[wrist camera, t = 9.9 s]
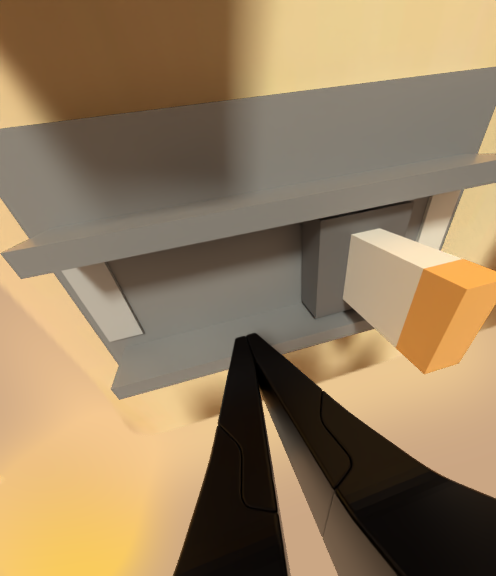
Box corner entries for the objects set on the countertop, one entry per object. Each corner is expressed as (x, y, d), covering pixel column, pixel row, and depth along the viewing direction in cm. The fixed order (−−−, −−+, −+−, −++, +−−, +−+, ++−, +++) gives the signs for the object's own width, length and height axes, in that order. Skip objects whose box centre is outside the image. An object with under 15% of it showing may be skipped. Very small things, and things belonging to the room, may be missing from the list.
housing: (487, 71, 11) (612, 35, 8) (406, 308, 20) (449, 339, 17) (-21, 136, 8) (-161, 122, 5) (140, 381, 17) (128, 435, 14)
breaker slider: (384, 195, 12) (580, 233, 6) (366, 284, 15) (483, 367, 9) (302, 211, 12) (427, 271, 6) (301, 300, 15) (380, 400, 9)
